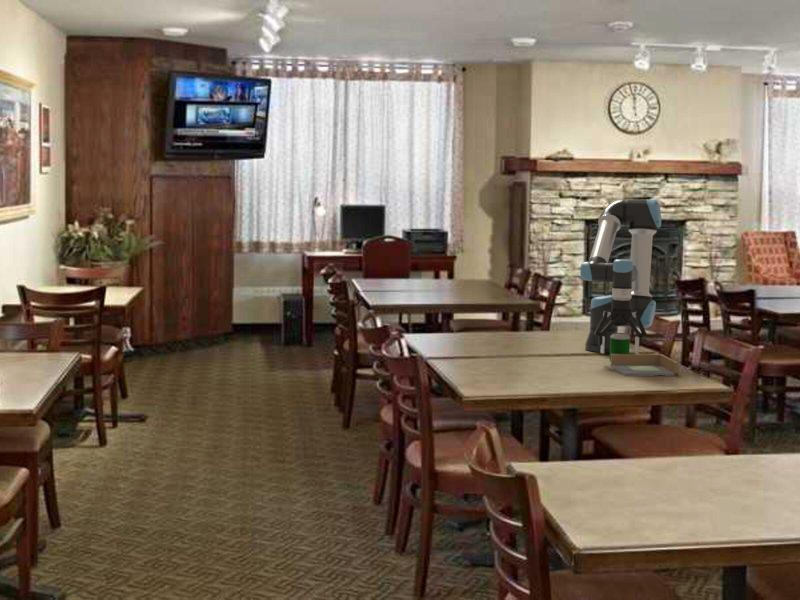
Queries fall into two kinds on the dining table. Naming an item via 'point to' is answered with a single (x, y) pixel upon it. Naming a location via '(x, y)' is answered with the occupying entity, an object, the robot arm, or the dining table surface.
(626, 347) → the soda can
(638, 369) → the pad
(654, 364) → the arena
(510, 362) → the dining table surface
